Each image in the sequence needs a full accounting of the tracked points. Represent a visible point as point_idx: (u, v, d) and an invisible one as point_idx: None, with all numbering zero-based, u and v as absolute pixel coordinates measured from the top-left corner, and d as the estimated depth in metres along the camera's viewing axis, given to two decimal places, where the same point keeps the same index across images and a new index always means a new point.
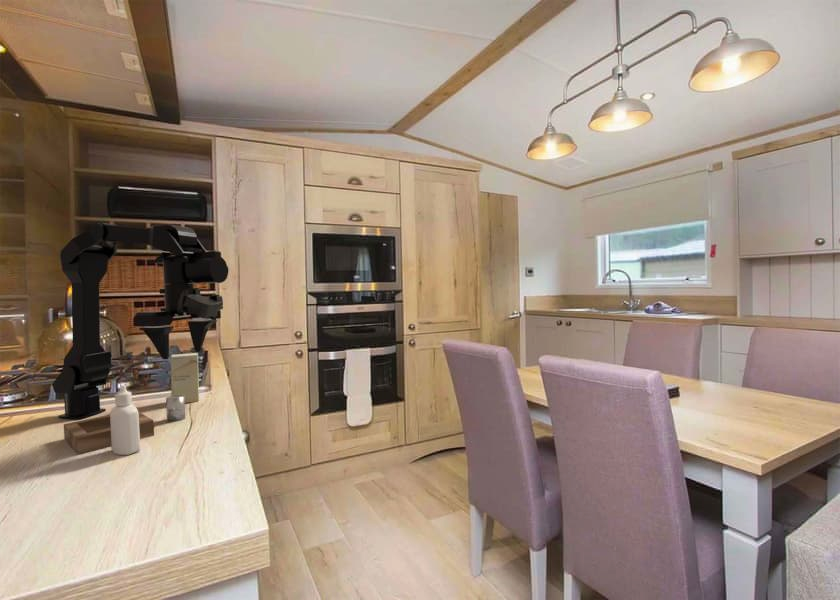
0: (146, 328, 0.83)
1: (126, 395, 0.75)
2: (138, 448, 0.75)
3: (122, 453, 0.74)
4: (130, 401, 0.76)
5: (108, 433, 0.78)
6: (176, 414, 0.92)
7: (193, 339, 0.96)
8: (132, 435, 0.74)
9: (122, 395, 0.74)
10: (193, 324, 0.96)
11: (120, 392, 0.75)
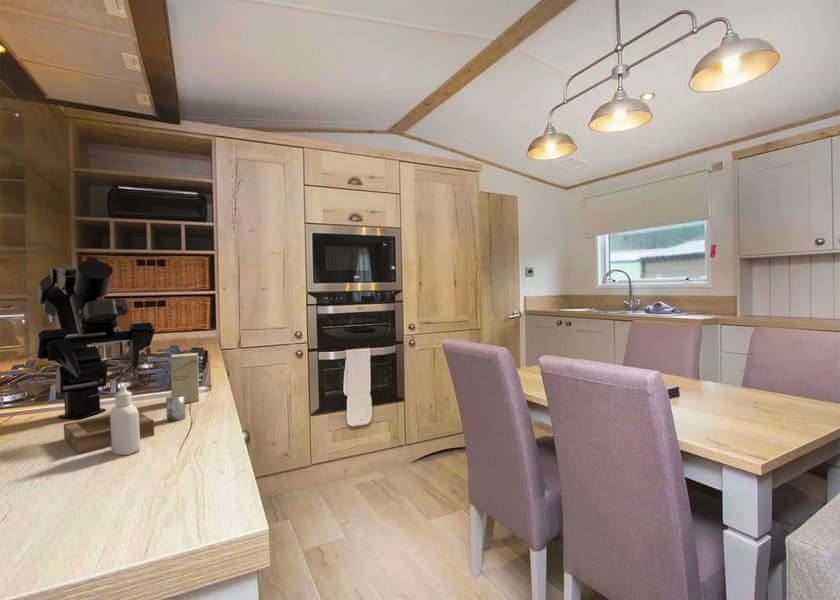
0: (48, 353, 0.79)
1: (126, 395, 0.75)
2: (138, 448, 0.75)
3: (122, 453, 0.74)
4: (130, 401, 0.76)
5: (108, 433, 0.78)
6: (176, 414, 0.92)
7: (131, 360, 0.87)
8: (132, 435, 0.74)
9: (122, 395, 0.74)
10: (129, 348, 0.89)
11: (120, 392, 0.75)
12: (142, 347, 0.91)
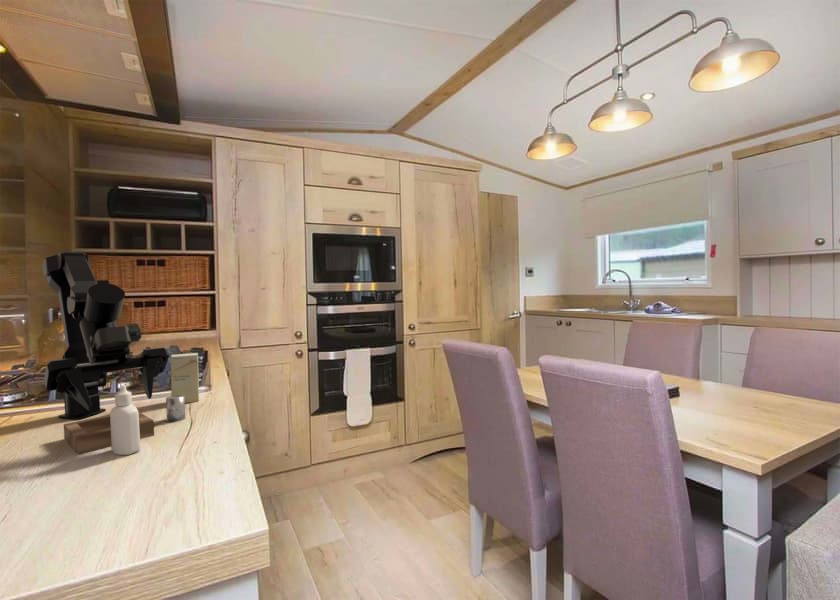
0: None
1: (126, 395, 0.75)
2: (138, 448, 0.75)
3: (122, 453, 0.74)
4: (130, 401, 0.76)
5: (108, 433, 0.78)
6: (176, 414, 0.92)
7: (145, 388, 0.82)
8: (132, 435, 0.74)
9: (122, 395, 0.74)
10: (143, 375, 0.84)
11: (120, 392, 0.75)
12: (156, 374, 0.86)
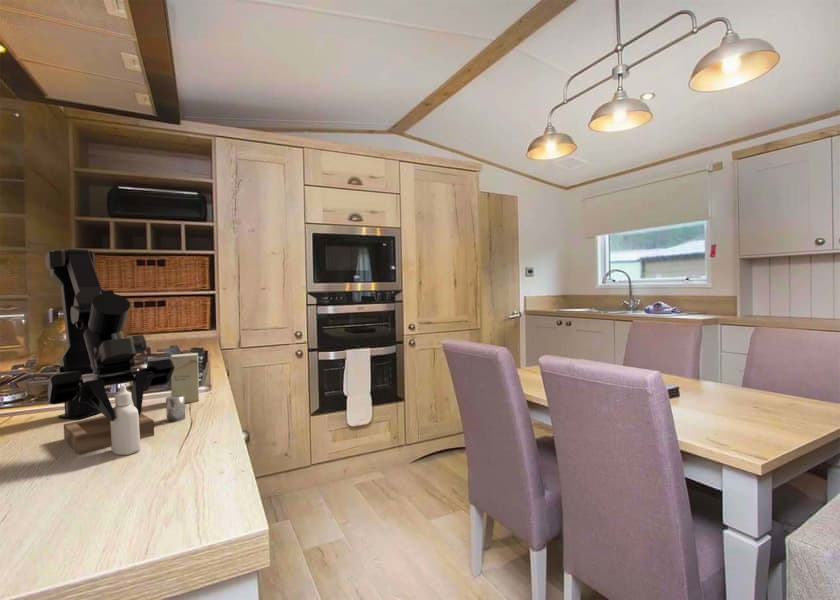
0: (80, 395, 0.74)
1: (126, 395, 0.75)
2: (138, 448, 0.75)
3: (122, 453, 0.74)
4: (130, 401, 0.76)
5: (108, 433, 0.78)
6: (176, 414, 0.92)
7: (134, 404, 0.78)
8: (132, 435, 0.74)
9: (122, 395, 0.74)
10: (132, 390, 0.80)
11: (120, 392, 0.75)
12: (146, 388, 0.82)
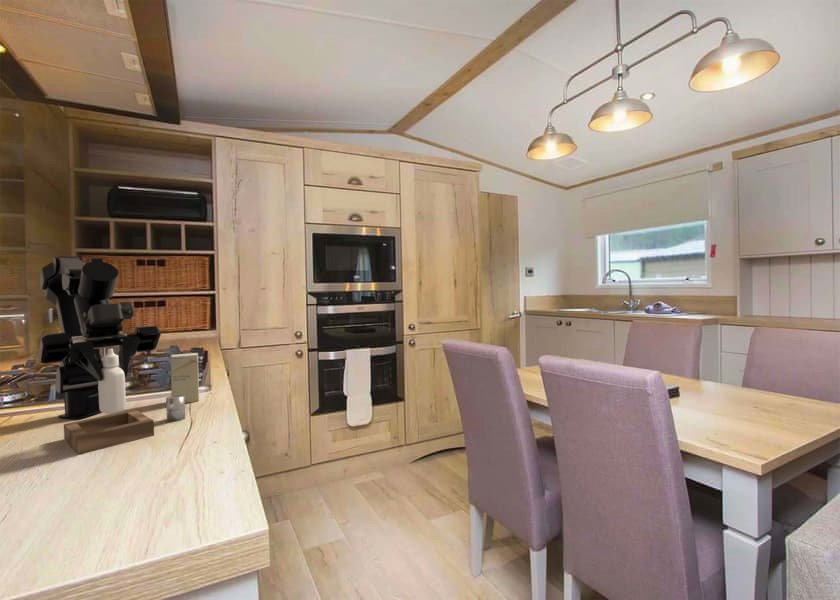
0: (70, 356, 0.78)
1: (113, 357, 0.79)
2: (124, 408, 0.80)
3: (108, 411, 0.78)
4: (117, 363, 0.80)
5: (108, 433, 0.78)
6: (176, 414, 0.92)
7: (121, 367, 0.82)
8: (118, 395, 0.79)
9: (109, 357, 0.79)
10: (119, 353, 0.84)
11: (107, 354, 0.79)
12: (133, 353, 0.87)
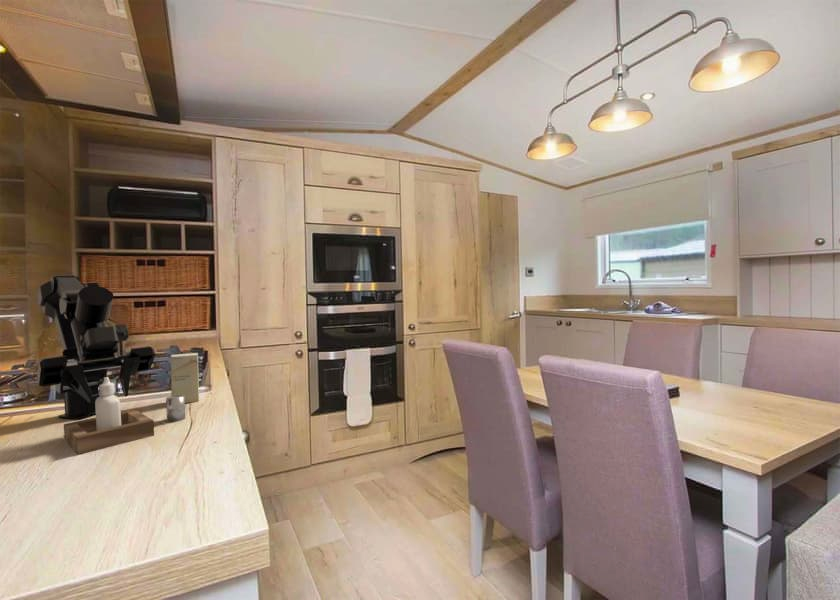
0: None
1: (109, 386, 0.82)
2: None
3: None
4: (113, 391, 0.83)
5: (108, 433, 0.78)
6: (176, 414, 0.92)
7: (122, 387, 0.86)
8: (113, 422, 0.81)
9: (105, 386, 0.82)
10: (120, 374, 0.88)
11: (103, 383, 0.82)
12: (133, 372, 0.90)
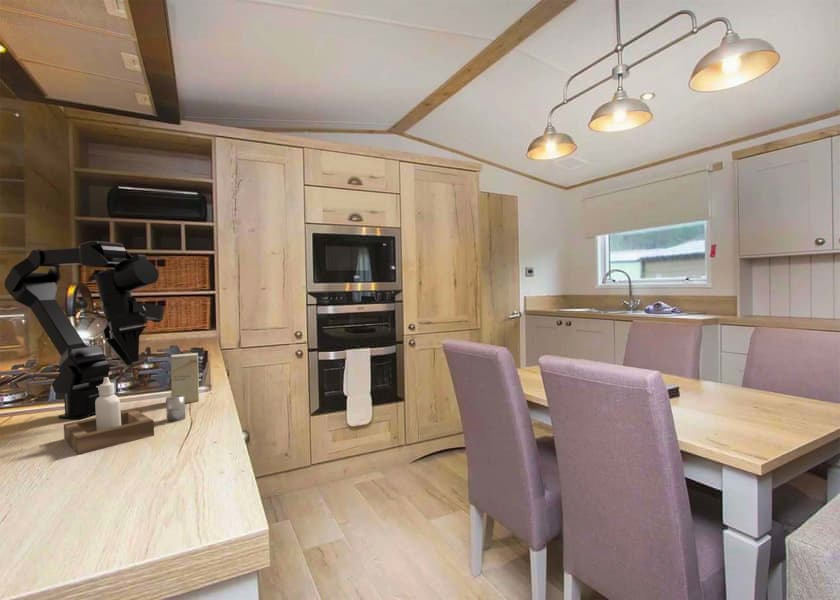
0: (125, 330, 0.87)
1: (108, 386, 0.82)
2: None
3: None
4: (113, 391, 0.83)
5: (108, 433, 0.78)
6: (176, 414, 0.92)
7: (121, 354, 0.96)
8: (113, 422, 0.81)
9: (105, 386, 0.82)
10: (116, 340, 0.96)
11: (103, 383, 0.82)
12: None
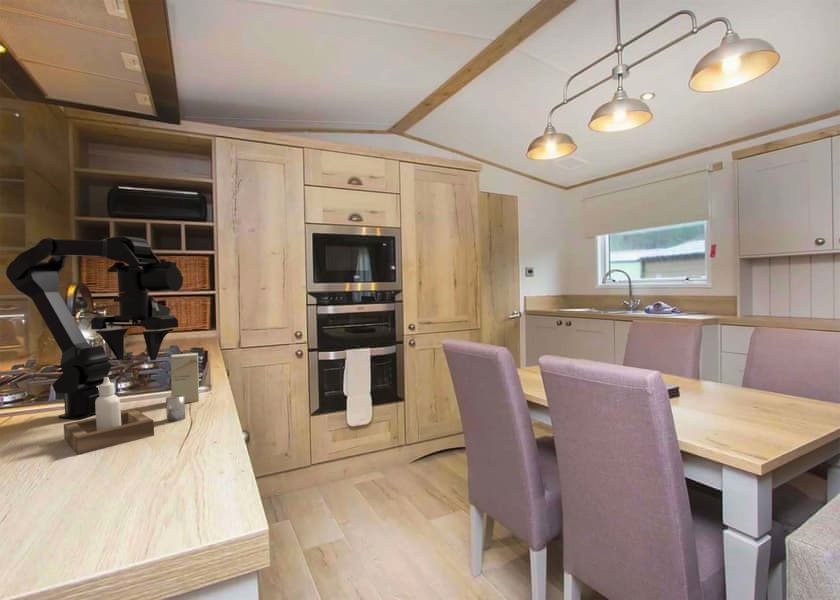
0: (161, 331, 0.93)
1: (109, 386, 0.82)
2: None
3: None
4: (113, 391, 0.83)
5: (108, 433, 0.78)
6: (176, 414, 0.92)
7: (115, 347, 0.96)
8: (113, 422, 0.81)
9: (105, 386, 0.82)
10: (112, 333, 0.96)
11: (103, 383, 0.82)
12: None
